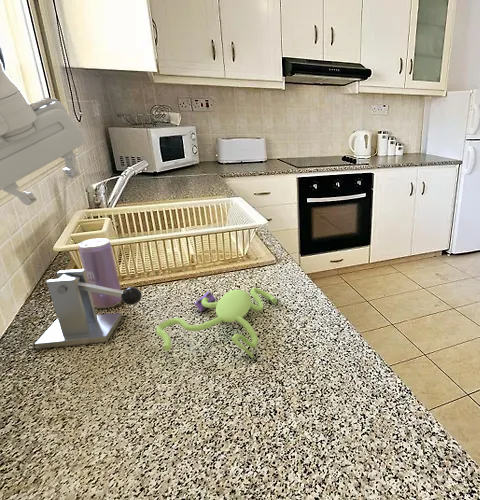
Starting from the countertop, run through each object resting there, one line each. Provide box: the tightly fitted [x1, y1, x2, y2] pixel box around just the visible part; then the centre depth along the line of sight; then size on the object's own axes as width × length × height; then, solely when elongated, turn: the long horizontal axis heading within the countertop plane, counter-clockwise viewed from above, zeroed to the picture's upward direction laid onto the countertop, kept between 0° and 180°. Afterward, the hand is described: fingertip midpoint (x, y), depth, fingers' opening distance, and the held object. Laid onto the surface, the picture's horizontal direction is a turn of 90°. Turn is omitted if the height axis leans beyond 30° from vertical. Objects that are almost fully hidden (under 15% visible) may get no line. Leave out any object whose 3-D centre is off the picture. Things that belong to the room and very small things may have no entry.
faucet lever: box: [58, 274, 143, 306], centre depth 73 cm, size 14×4×4 cm, turn 104°
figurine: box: [155, 287, 278, 359], centre depth 78 cm, size 18×27×6 cm
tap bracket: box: [34, 268, 123, 350], centre depth 73 cm, size 12×9×13 cm
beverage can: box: [78, 237, 123, 309], centre depth 84 cm, size 6×6×15 cm
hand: (53, 188), depth 70 cm, fingers open, 8 cm apart
